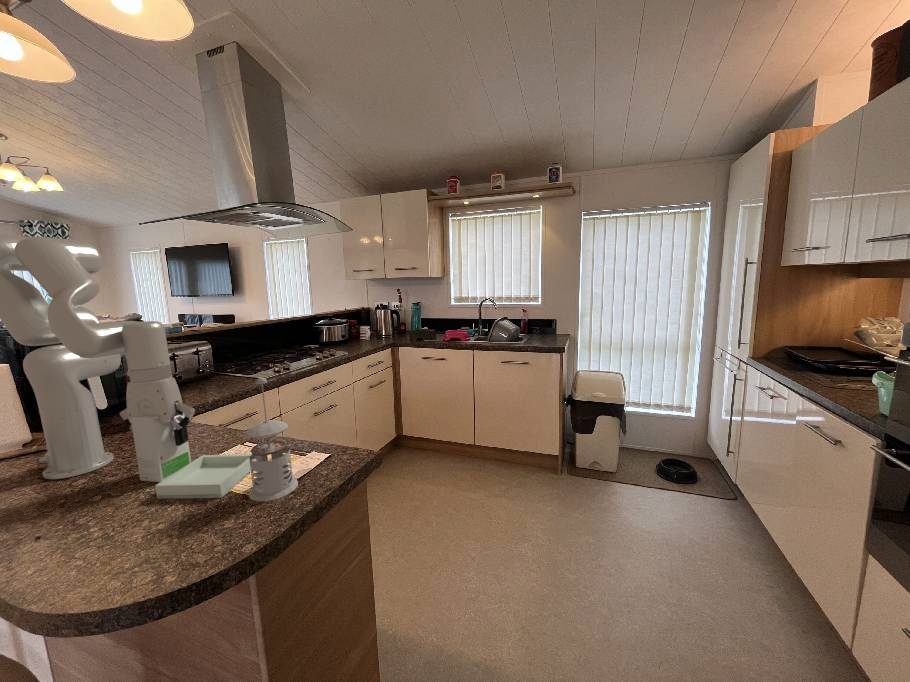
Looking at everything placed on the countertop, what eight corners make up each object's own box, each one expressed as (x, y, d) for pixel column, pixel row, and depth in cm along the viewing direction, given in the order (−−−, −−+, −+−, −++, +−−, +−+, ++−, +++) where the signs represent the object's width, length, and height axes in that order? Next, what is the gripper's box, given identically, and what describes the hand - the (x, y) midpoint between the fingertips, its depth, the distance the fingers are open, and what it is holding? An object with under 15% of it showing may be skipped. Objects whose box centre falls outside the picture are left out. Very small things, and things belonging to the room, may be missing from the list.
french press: (249, 507, 73) (234, 386, 69) (247, 482, 82) (233, 375, 79) (301, 491, 78) (290, 378, 74) (293, 469, 87) (282, 368, 84)
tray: (157, 498, 77) (155, 485, 76) (203, 466, 91) (202, 455, 90) (221, 497, 76) (220, 484, 76) (258, 465, 90) (257, 454, 90)
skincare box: (161, 483, 83) (150, 418, 81) (138, 481, 84) (126, 417, 82) (193, 465, 91) (185, 406, 89) (172, 464, 92) (163, 405, 90)
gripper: (99, 379, 81) (112, 452, 83) (174, 377, 80) (186, 449, 83) (129, 372, 88) (141, 438, 91) (199, 369, 88) (209, 436, 90)
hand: (162, 443), depth 87 cm, fingers open, 9 cm apart
